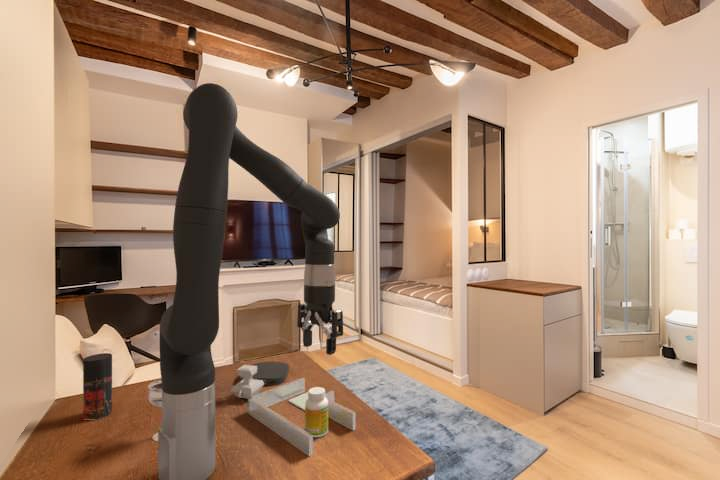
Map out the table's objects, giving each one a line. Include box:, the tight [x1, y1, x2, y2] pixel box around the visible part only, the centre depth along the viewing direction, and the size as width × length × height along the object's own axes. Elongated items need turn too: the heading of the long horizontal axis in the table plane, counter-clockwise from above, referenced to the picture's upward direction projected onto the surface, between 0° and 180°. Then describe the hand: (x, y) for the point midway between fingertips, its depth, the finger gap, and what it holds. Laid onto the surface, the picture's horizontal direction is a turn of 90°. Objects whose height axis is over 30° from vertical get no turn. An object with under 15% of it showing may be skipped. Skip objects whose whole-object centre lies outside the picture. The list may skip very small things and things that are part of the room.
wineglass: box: [147, 378, 162, 442], centre depth 78 cm, size 7×7×12 cm
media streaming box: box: [239, 361, 290, 387], centre depth 112 cm, size 15×15×3 cm
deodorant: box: [82, 352, 113, 420], centre depth 87 cm, size 6×6×15 cm
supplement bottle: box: [304, 386, 329, 438], centre depth 79 cm, size 5×5×10 cm
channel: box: [246, 377, 357, 457], centre depth 85 cm, size 18×26×4 cm
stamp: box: [230, 364, 265, 400], centre depth 97 cm, size 9×7×8 cm
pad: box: [287, 391, 309, 412], centre depth 93 cm, size 7×9×1 cm
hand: (318, 349), depth 81 cm, fingers open, 8 cm apart
